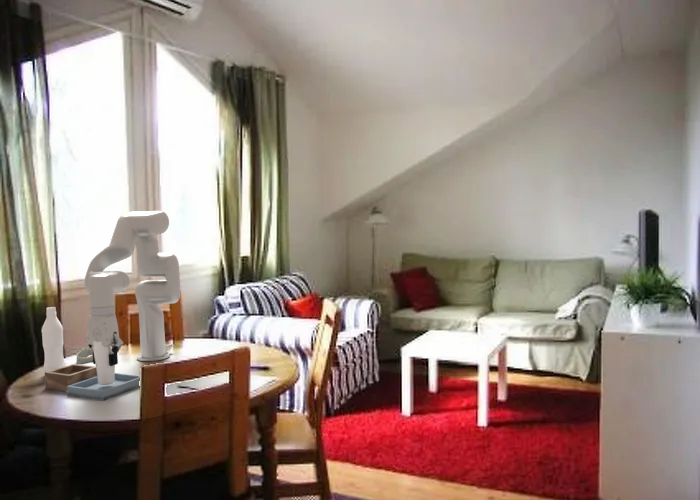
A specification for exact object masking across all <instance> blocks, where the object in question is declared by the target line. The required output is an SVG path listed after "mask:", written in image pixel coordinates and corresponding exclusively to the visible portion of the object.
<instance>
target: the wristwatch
mask: <svg viewBox="0 0 700 500" xmlns="http://www.w3.org/2000/svg"><path fill="white" fill-rule="evenodd" d="M90 362H93V352H91V349H90V348H89V349H88V348H82V349H80V351H78V352H77V354H76V363H78V364H85V363H90Z"/></svg>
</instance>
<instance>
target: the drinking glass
mask: <svg viewBox="0 0 700 500" xmlns="http://www.w3.org/2000/svg"><path fill="white" fill-rule="evenodd" d="M112 344H114V341H113V342H112ZM113 348H114V346H112V349H113ZM93 349H94V357H95V364H94V365H95V367H96V370H97V377H98V384H100V385H109V384H112V383H114V382H115V373H116V365H113V366H110V365H109V354H110V352H109V349H108V347H104V346H102V342H101V341H93Z"/></svg>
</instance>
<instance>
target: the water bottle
mask: <svg viewBox="0 0 700 500" xmlns="http://www.w3.org/2000/svg"><path fill="white" fill-rule="evenodd" d="M45 315H46V318H45V321H44V323H43V325H42V326H41V336H42V337H41V339H42V347H43V352H44V363H43V370H44V373H45V372H48V371H51V370H55V369H58V368H61V367H65V366H66V362H65V358H64V344H65V343H64V328H63V324H61V321H60V320H59V318H58V317H57V310H56V306H50V307H49V306H48V307H46V314H45Z"/></svg>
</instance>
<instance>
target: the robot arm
mask: <svg viewBox="0 0 700 500" xmlns="http://www.w3.org/2000/svg"><path fill="white" fill-rule="evenodd" d="M169 219H170V218H169V216H168V214H167V213H166V212H165V211H163V210H162V211H161V210H153V211H151V210H150V211H145V210H143V211H129V212H127V213H125V214H123V215H120V217H119V218H118V219H117V221H116V224H115V227H114V231H113V234H112V237H111V239H110V243H109V245H108V246H107V247H105V248H104V249H103V250H101V251H100V252H99V253H98V254H97V255H95V257H93V259H91V260H90V262H89V265H88V268H87V270H86V274H85V277H84V287H85V289H86V291H87V292H88V296H89V312H90V313H89V314H90V315H88V319H87V331H86V332H87V337H86V338H85V342H86V343H87V345H88V347H89V349H91V352H93V361H92V364H93V365H96V364H95V357H94V349H93V341H101V342H102V346H104V347H108V349H109V352H110V354H109V365H110V366H113V365H115V366H116V365H118V364H119V363H118V362H119V361H118V360H119V358H118V353H119V351H120V350H121V348H122V346H123V345H124V341H123V340H122V339H121V338H120V333H119V332H120V331H119V324H118V319H117V316H116V314H115V312H116V311H115V297H114V295H115V294H118V293H119V294H120V293H123V292H125V291H126V290H127V289H128V287H129V286H130V278H129V275H128V274H127V273H126V272H124V271H122V270H121V271H120V270H108V271H107V270H105V269H107V268H108V267H110V266H112V265H114V264H116V263H119V262H121V261H123V260H126V259H127V258H130V257H132V255H134V252H135V250H136V261H137V262H136V265H137V272H138V275H140V276H141V277H143V278H165V279H149V280H146V279H145V280H142V281H139V282H138V283H137V284H136V286H135V288H134V293H135V299H136V304H137V308H138V309H137V310H138V323H139V341H140V343H139V344H140V345H139V346H140V354H138V355H137V356H136V360H138V361H141V362H157V361H161V360H165V359H167V358H169V357H170V352H168V350H170V349H172V348H173V347H174V345H173V344H172V343H168V344H166V337H165V335H166V334H165V318H164V317H165V316H164V312H163V310H162V309H161V307H160V305H161V304H162V305H163V304H164V305H165V304H167V305H169V304H176V303H178V302H179V301H180V299H181V279H180V278H181V277H180V264H179V259H178V257H177V256H176V255H175V253H174V254H173V253H171V252H160V249H159V241H158V238H157V236H158V235H161V234H162V235H163V234H164V233H165V232H166V231H168V228H169V225H170V220H169ZM135 248H136V249H135ZM113 341H114V344H112V342H113ZM112 346H114V348H113V349H112Z"/></svg>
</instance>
